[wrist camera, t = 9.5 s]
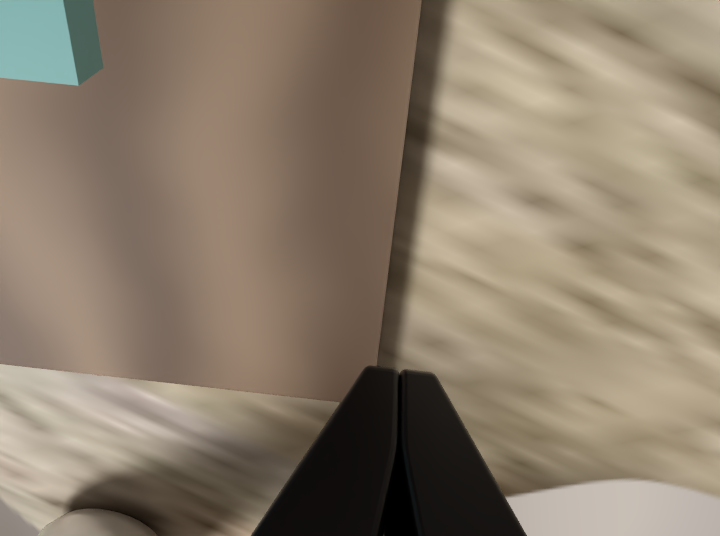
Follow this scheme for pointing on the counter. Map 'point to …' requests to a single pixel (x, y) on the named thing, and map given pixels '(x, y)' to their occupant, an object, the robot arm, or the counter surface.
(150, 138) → the board
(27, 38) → the keeper
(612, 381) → the counter surface
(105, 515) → the plastic bottle
